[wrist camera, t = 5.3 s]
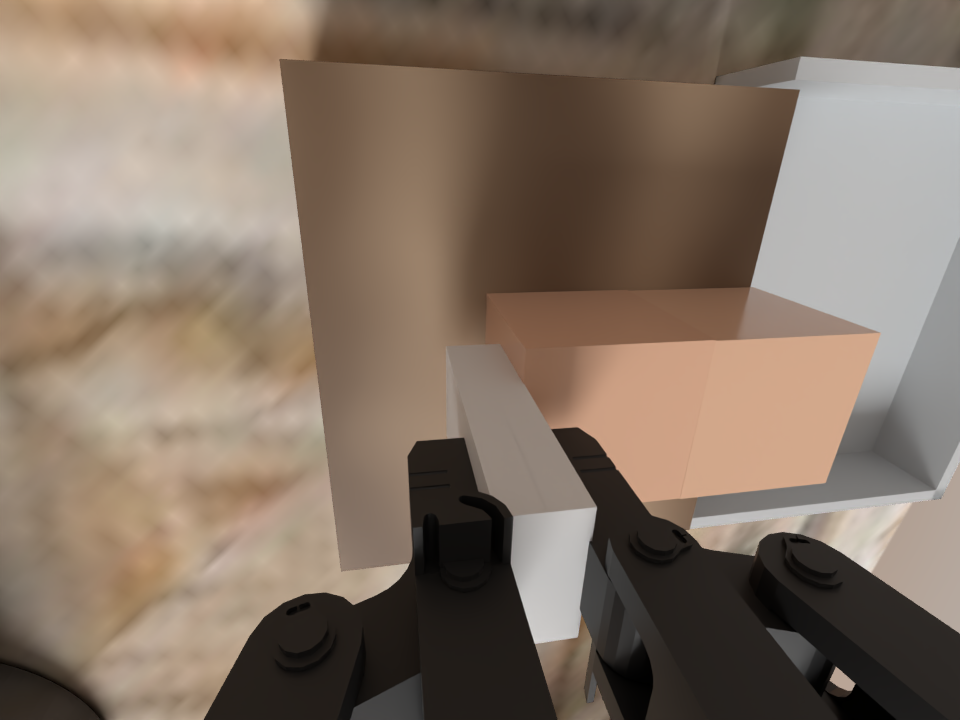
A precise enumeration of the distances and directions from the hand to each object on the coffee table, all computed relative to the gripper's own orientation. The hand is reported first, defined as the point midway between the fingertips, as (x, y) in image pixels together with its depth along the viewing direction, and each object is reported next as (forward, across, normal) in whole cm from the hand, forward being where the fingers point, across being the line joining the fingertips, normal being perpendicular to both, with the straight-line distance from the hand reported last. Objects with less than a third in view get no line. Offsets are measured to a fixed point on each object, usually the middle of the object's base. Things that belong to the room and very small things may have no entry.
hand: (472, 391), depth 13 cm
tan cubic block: (+2, +8, 0) cm, 8 cm away
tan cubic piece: (+2, +3, 0) cm, 4 cm away
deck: (+7, +3, 0) cm, 8 cm away
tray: (+7, +17, 0) cm, 19 cm away
